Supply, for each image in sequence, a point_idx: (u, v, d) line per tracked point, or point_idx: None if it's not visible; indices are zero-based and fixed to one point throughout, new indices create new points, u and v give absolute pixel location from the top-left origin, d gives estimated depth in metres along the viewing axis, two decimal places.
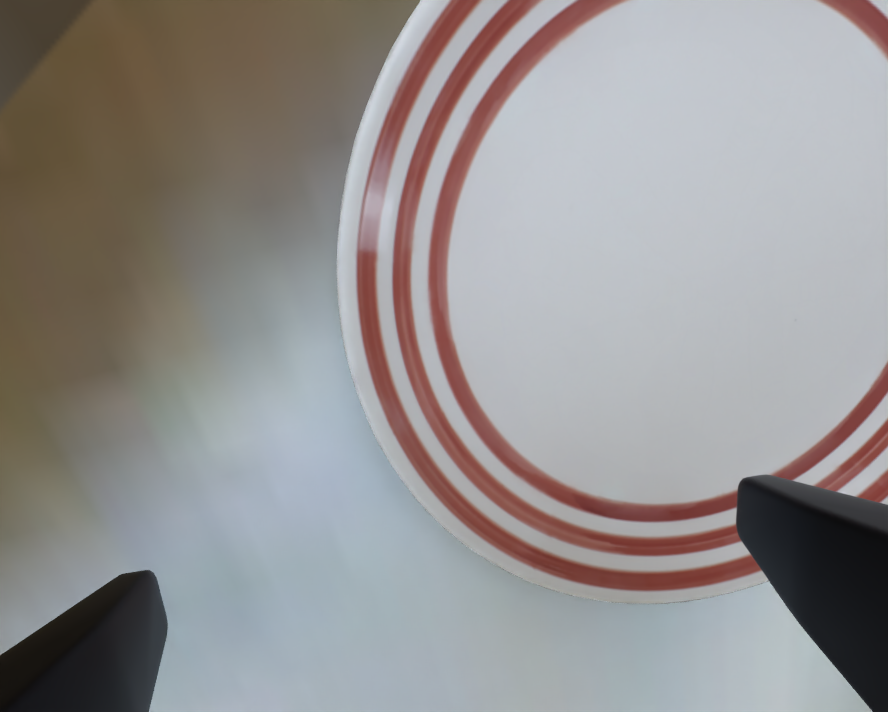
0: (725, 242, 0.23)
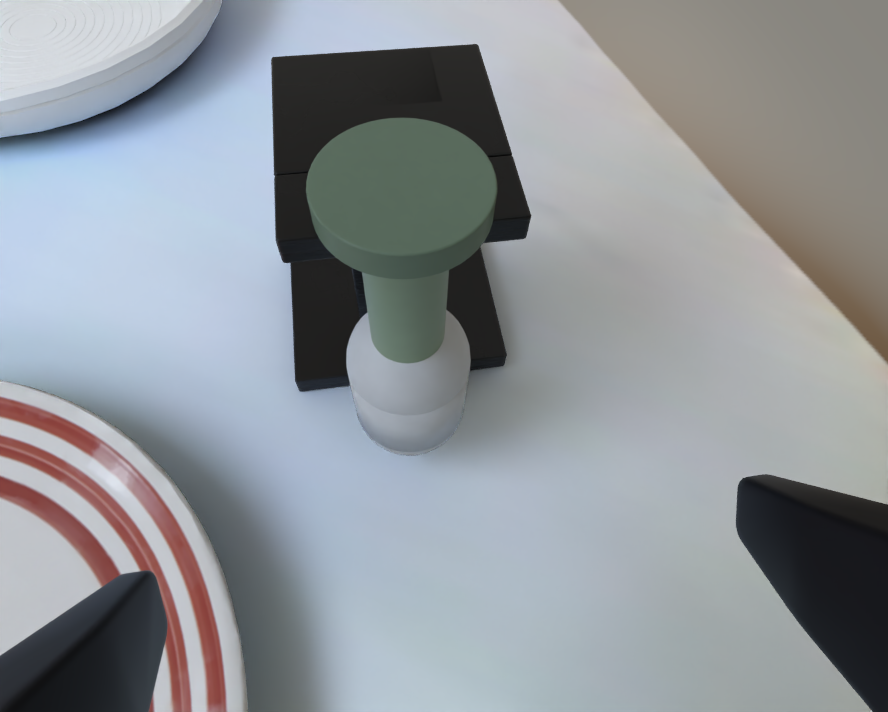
0: None
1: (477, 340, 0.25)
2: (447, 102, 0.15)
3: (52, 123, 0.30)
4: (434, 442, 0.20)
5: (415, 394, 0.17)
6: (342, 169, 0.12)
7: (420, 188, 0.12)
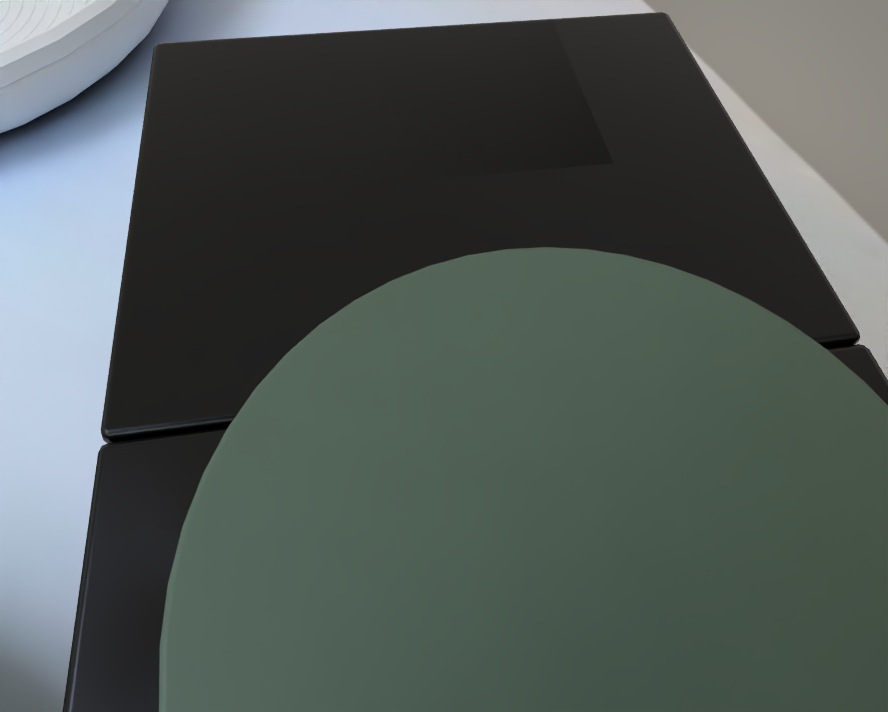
0: None
1: None
2: (628, 167, 0.05)
3: None
4: None
5: None
6: (329, 512, 0.03)
7: (686, 623, 0.03)
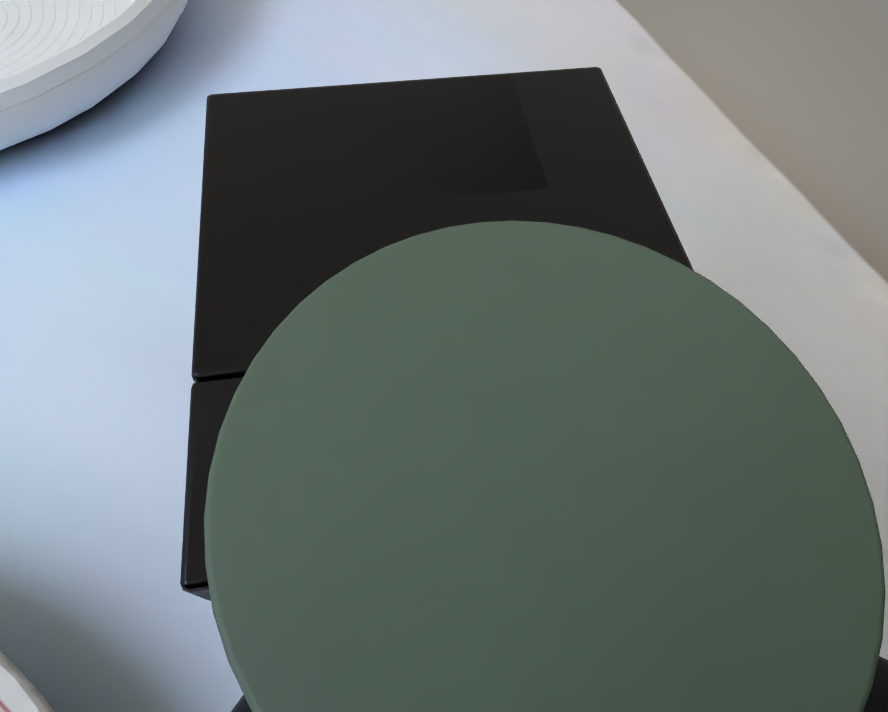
0: None
1: None
2: (560, 191, 0.07)
3: None
4: None
5: None
6: (334, 421, 0.04)
7: (610, 502, 0.03)
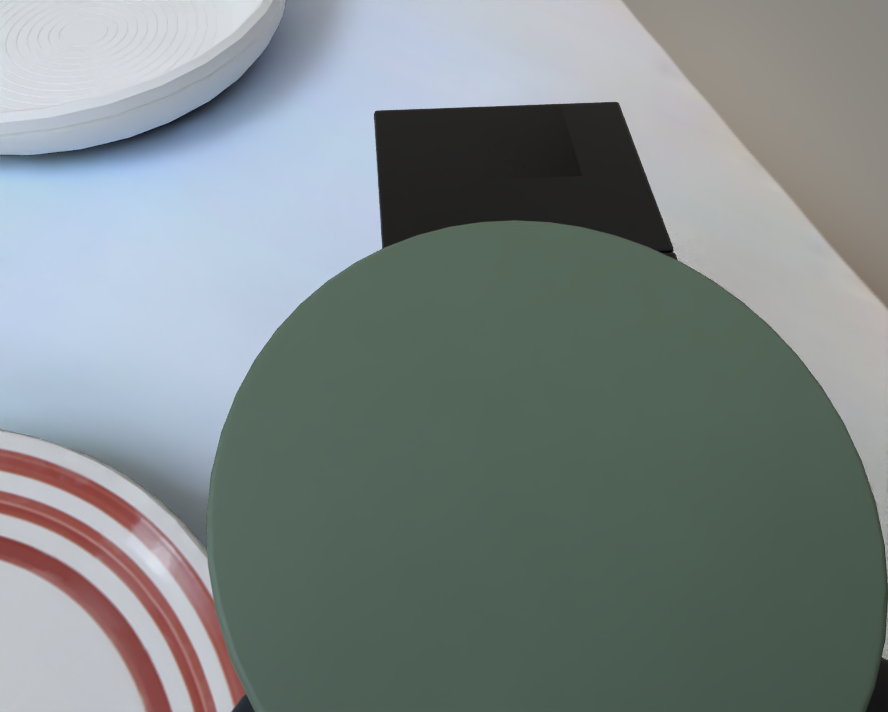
0: None
1: None
2: (588, 177, 0.12)
3: (100, 141, 0.28)
4: None
5: None
6: (337, 421, 0.04)
7: (613, 502, 0.03)
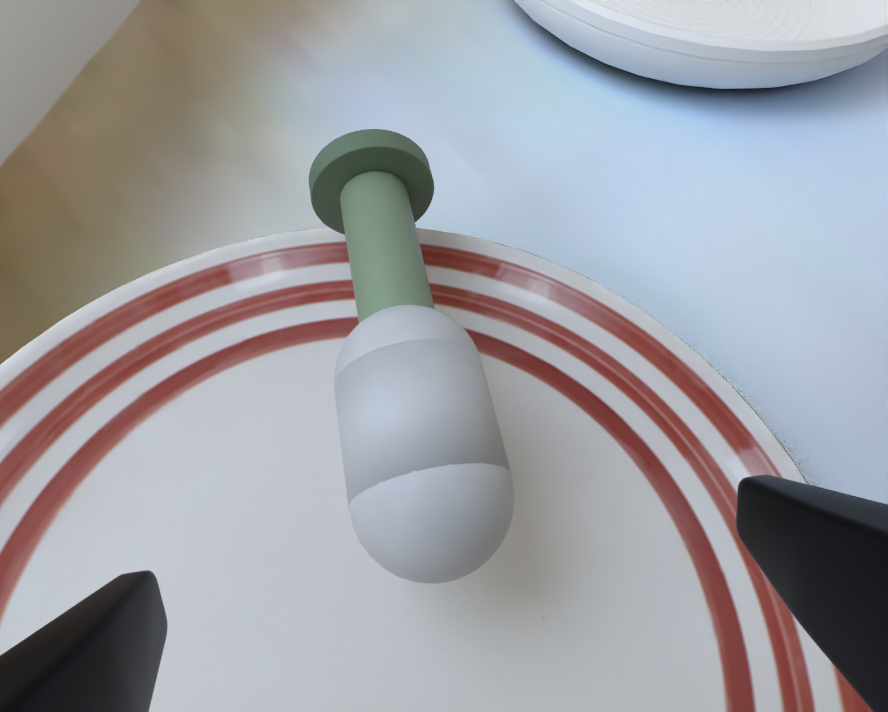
0: (384, 584, 0.17)
1: None
2: None
3: (711, 82, 0.28)
4: (458, 452, 0.13)
5: (400, 314, 0.15)
6: None
7: None
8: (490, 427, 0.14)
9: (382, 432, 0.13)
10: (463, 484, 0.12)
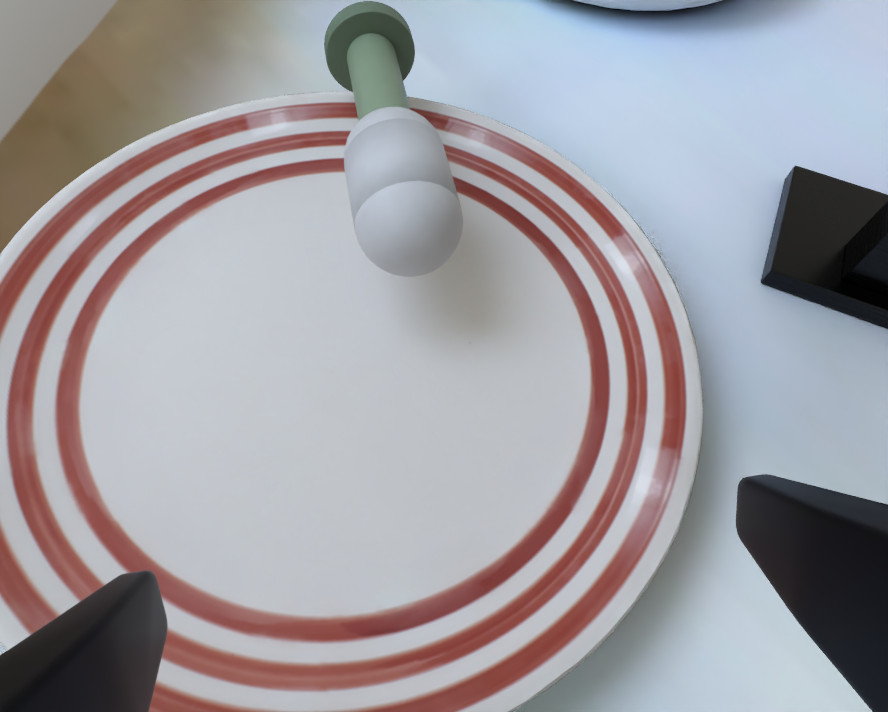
0: (358, 322, 0.24)
1: None
2: None
3: (628, 2, 0.35)
4: (443, 182, 0.20)
5: (406, 109, 0.22)
6: None
7: None
8: (455, 187, 0.22)
9: (398, 160, 0.20)
10: (446, 198, 0.20)
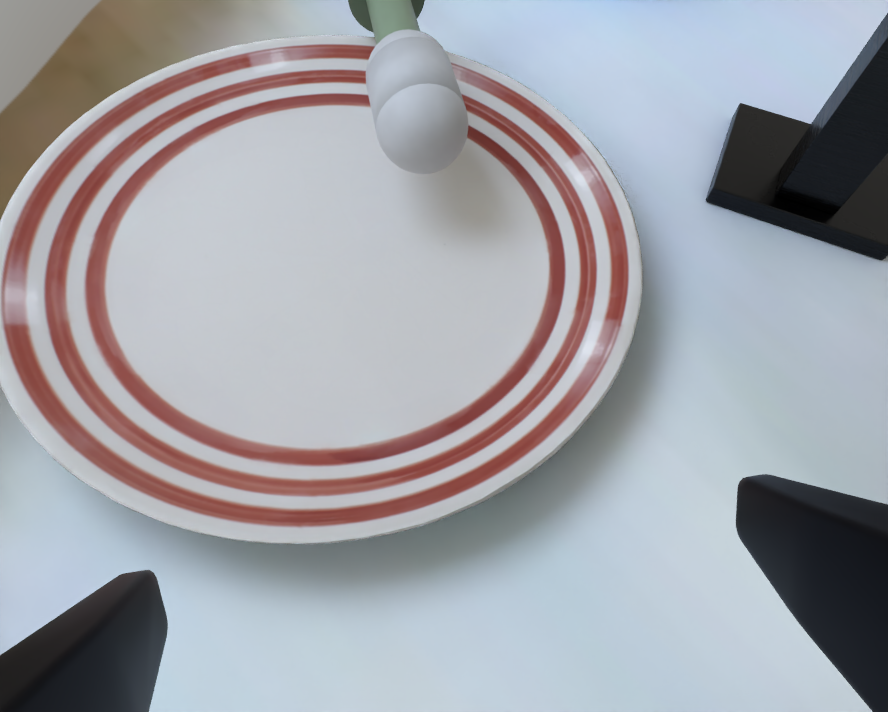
0: (347, 227, 0.28)
1: (873, 227, 0.29)
2: None
3: None
4: None
5: None
6: None
7: None
8: None
9: (445, 73, 0.24)
10: (467, 122, 0.25)
